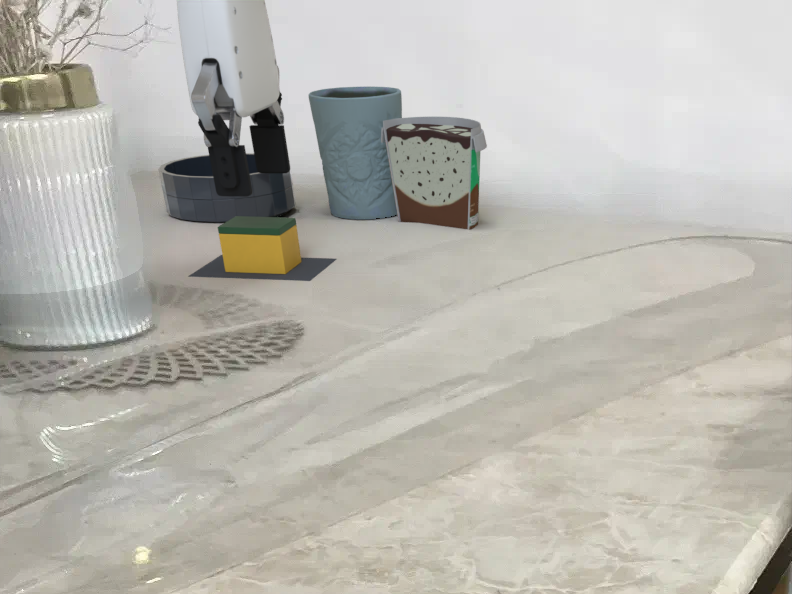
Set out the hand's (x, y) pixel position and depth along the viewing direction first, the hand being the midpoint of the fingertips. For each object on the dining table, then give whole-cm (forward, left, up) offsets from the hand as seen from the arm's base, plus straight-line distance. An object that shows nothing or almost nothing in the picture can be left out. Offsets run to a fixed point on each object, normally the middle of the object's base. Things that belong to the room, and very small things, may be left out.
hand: (255, 183), depth 105 cm
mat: (0, 0, -8) cm, 8 cm away
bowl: (-13, +24, -8) cm, 28 cm away
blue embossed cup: (+2, +27, -8) cm, 28 cm away
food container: (+13, +22, -8) cm, 26 cm away
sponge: (0, 0, -7) cm, 7 cm away
